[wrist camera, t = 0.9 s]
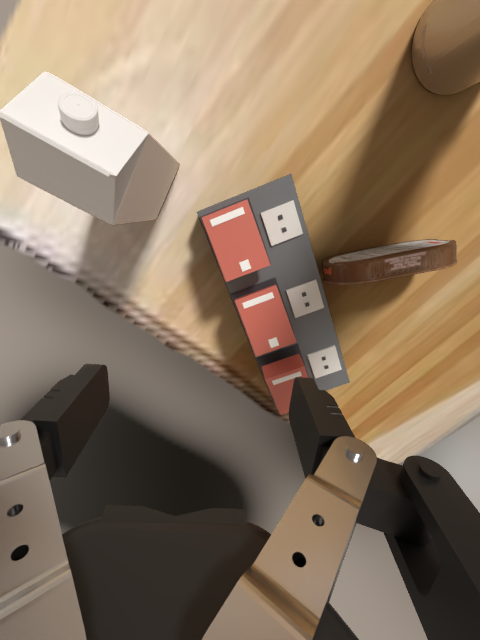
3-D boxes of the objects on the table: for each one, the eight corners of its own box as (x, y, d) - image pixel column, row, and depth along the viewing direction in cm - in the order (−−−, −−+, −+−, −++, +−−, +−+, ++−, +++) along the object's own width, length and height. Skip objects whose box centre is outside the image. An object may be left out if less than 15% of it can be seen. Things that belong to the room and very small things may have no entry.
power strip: (284, 177, 35) (292, 172, 31) (339, 367, 45) (351, 385, 41) (199, 211, 36) (195, 212, 32) (271, 391, 46) (275, 410, 41)
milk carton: (156, 220, 36) (89, 229, 19) (100, 189, 35) (-29, 169, 17) (180, 163, 34) (131, 114, 17) (122, 129, 33) (0, 34, 15)
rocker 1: (247, 204, 32) (247, 198, 30) (269, 265, 33) (270, 265, 31) (204, 221, 33) (201, 217, 30) (227, 281, 34) (225, 282, 31)
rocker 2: (274, 284, 35) (276, 285, 33) (293, 337, 36) (296, 342, 34) (235, 298, 36) (234, 300, 33) (255, 351, 37) (255, 357, 34)
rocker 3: (298, 353, 37) (304, 366, 35) (310, 389, 41) (316, 403, 39) (261, 366, 38) (265, 380, 35) (276, 401, 41) (280, 415, 39)
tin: (315, 277, 40) (337, 294, 32) (313, 254, 39) (335, 265, 31) (426, 256, 40) (475, 268, 32) (427, 232, 39) (479, 238, 31)
